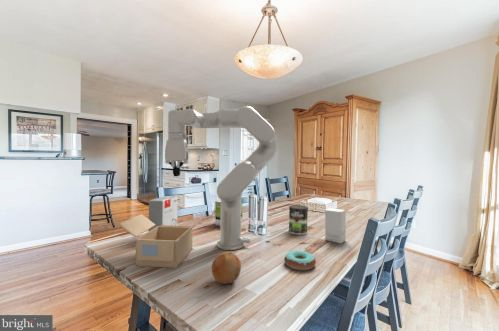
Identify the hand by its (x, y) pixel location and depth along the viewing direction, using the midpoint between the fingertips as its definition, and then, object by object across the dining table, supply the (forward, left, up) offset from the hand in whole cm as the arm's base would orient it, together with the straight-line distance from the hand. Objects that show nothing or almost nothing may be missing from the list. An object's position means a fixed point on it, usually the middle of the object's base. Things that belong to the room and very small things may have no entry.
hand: (176, 176), depth 115 cm
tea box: (-19, -37, -32) cm, 53 cm away
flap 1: (+7, +16, -21) cm, 28 cm away
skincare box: (-77, -13, -32) cm, 85 cm away
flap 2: (-11, +16, -21) cm, 29 cm away
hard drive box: (+10, -8, -32) cm, 35 cm away
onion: (-30, +33, -32) cm, 55 cm away
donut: (-56, +17, -33) cm, 67 cm away
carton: (-2, +16, -32) cm, 36 cm away
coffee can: (-60, -25, -32) cm, 73 cm away
